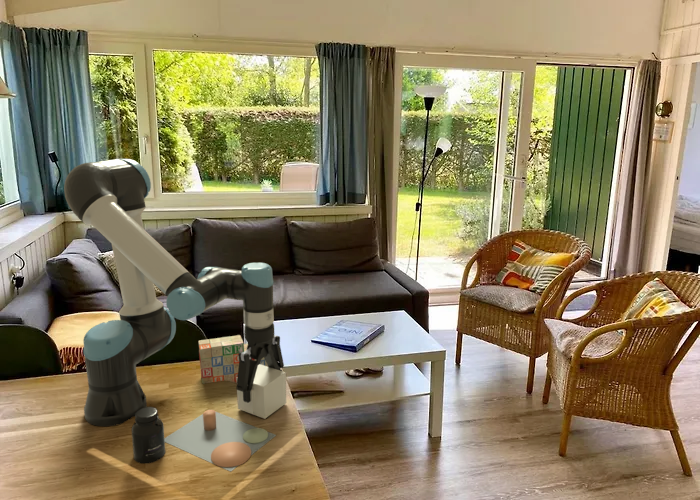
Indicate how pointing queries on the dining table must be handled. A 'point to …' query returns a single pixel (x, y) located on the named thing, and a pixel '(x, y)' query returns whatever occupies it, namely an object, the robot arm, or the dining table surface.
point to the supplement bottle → (148, 436)
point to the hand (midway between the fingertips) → (262, 403)
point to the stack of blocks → (221, 358)
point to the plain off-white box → (266, 391)
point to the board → (219, 439)
